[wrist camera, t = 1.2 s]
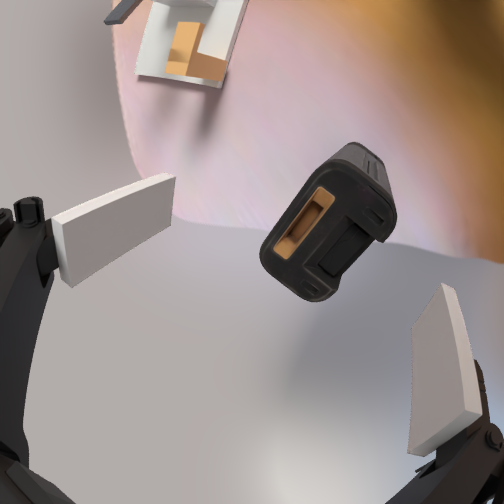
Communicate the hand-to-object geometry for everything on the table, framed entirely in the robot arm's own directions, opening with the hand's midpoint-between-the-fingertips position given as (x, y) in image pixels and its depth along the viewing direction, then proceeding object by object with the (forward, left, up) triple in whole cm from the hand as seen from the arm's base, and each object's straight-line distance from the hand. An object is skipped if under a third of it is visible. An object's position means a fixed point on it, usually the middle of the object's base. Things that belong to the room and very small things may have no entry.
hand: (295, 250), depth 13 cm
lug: (-9, -20, -24) cm, 33 cm away
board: (-16, -27, -25) cm, 41 cm away
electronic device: (+2, +1, -26) cm, 26 cm away
